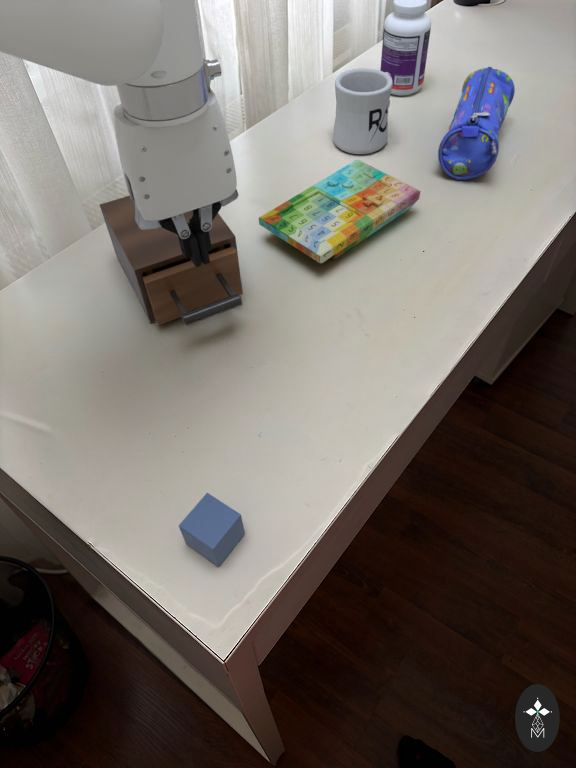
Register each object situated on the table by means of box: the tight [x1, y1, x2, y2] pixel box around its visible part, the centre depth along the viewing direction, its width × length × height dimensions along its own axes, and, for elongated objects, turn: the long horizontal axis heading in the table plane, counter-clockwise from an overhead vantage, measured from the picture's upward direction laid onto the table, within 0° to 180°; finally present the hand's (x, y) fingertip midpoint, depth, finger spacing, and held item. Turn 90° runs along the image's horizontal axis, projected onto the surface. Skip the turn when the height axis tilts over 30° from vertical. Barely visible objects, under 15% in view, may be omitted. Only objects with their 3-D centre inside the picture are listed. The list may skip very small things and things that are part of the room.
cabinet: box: [99, 194, 243, 324], centre depth 76 cm, size 15×13×9 cm
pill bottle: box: [379, 0, 432, 96], centre depth 104 cm, size 8×8×14 cm
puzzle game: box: [258, 159, 421, 264], centre depth 83 cm, size 12×5×20 cm
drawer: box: [142, 246, 244, 327], centre depth 73 cm, size 19×11×7 cm, turn 27°
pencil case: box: [437, 66, 516, 181], centre depth 92 cm, size 22×9×10 cm, turn 160°
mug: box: [332, 67, 393, 155], centre depth 95 cm, size 12×9×10 cm
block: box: [178, 492, 246, 568], centre depth 54 cm, size 4×4×4 cm
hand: (198, 257), depth 64 cm, fingers closed
